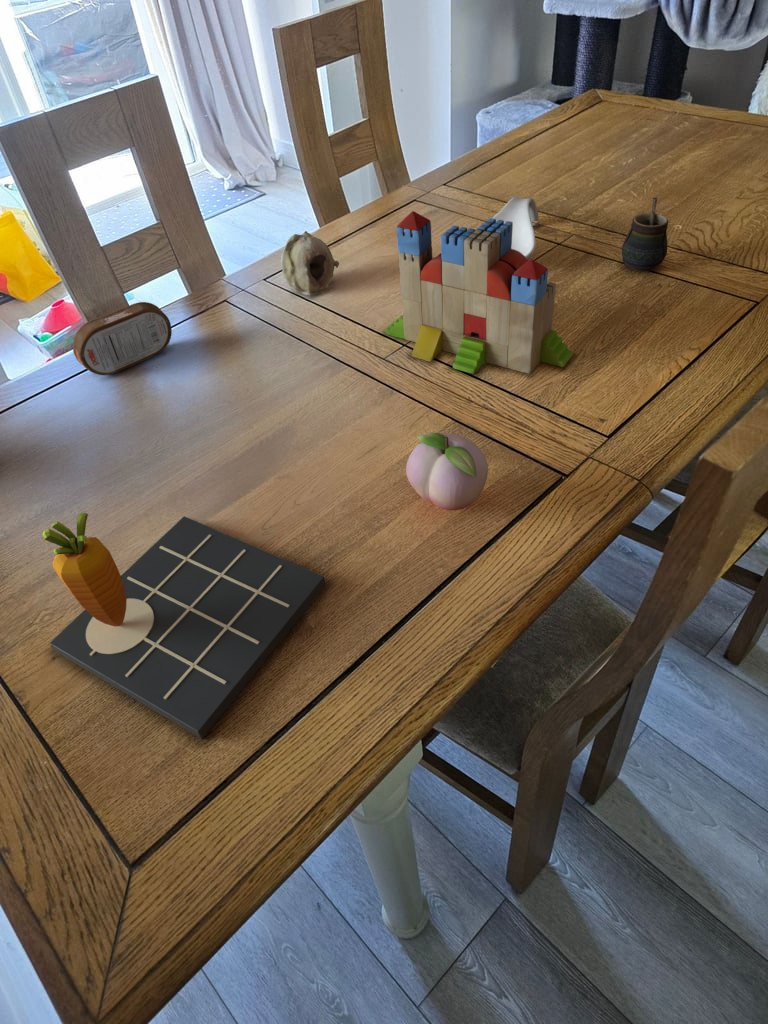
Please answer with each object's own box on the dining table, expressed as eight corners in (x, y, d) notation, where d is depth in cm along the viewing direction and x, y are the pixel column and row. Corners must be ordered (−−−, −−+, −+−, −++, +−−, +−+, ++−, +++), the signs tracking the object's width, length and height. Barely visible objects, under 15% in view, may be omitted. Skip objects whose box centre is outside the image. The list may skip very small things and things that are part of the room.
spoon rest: (524, 285, 117) (527, 243, 112) (457, 277, 121) (457, 237, 115) (555, 227, 132) (559, 188, 127) (495, 221, 136) (496, 183, 130)
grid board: (55, 651, 71) (48, 642, 69) (187, 524, 82) (183, 515, 81) (202, 739, 62) (197, 731, 61) (326, 585, 74) (324, 575, 73)
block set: (581, 345, 103) (600, 214, 89) (541, 395, 95) (555, 259, 81) (419, 304, 115) (414, 183, 101) (371, 345, 107) (359, 220, 94)
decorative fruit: (502, 500, 81) (507, 432, 74) (459, 541, 77) (460, 474, 70) (439, 468, 86) (438, 402, 79) (396, 505, 82) (390, 438, 75)
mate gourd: (620, 276, 117) (630, 216, 110) (617, 255, 122) (627, 197, 115) (665, 276, 115) (678, 216, 108) (661, 256, 120) (673, 196, 113)
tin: (171, 340, 113) (155, 292, 107) (180, 347, 111) (165, 298, 105) (84, 378, 107) (62, 329, 101) (92, 386, 105) (70, 337, 99)
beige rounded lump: (291, 306, 123) (261, 258, 116) (308, 276, 127) (280, 228, 120) (334, 297, 118) (306, 246, 111) (351, 266, 122) (324, 216, 116)
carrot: (141, 598, 73) (86, 495, 62) (147, 634, 69) (90, 531, 59) (92, 614, 72) (29, 512, 61) (96, 652, 68) (30, 550, 58)
